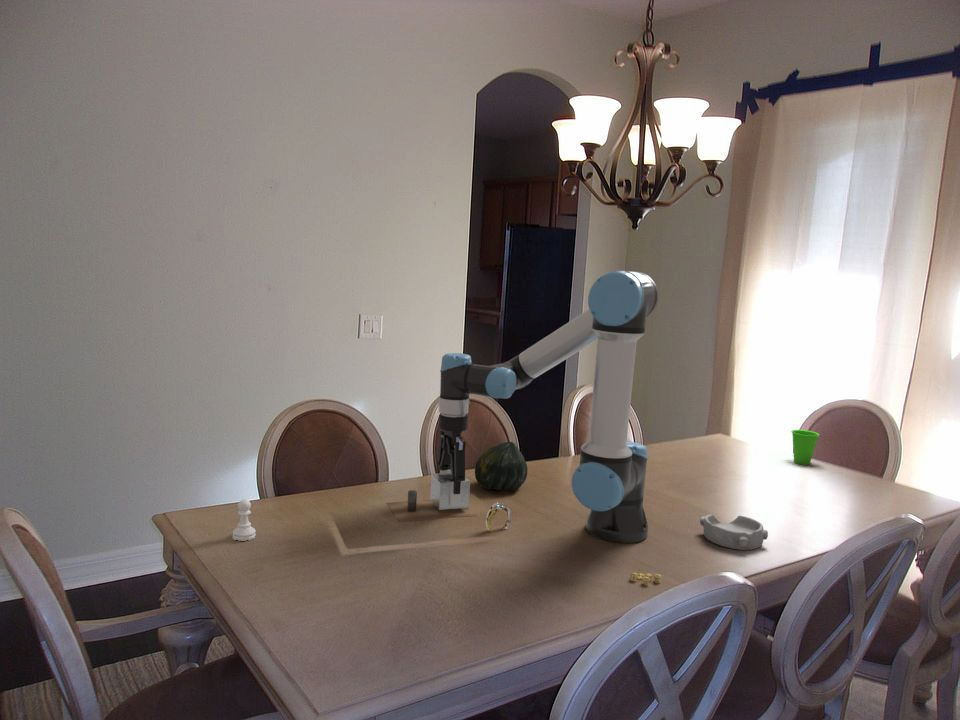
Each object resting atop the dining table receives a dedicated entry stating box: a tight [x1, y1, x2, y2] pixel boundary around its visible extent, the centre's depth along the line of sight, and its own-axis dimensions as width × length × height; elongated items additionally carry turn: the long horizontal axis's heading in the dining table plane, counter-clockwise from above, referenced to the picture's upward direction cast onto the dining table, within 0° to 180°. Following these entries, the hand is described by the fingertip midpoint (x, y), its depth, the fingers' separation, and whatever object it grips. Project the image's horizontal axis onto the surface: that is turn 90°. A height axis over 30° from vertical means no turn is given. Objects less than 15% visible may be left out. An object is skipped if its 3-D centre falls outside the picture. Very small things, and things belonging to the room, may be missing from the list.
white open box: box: [429, 472, 471, 510], centre depth 188 cm, size 8×8×7 cm
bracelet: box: [485, 501, 512, 533], centre depth 175 cm, size 7×3×8 cm, turn 121°
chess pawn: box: [232, 499, 257, 541], centre depth 165 cm, size 5×5×9 cm
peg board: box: [386, 489, 477, 523], centre depth 187 cm, size 14×20×6 cm
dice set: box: [629, 572, 662, 587], centre depth 154 cm, size 5×5×2 cm
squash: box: [474, 441, 529, 492], centre depth 210 cm, size 14×15×15 cm
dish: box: [699, 513, 769, 551], centre depth 179 cm, size 14×14×5 cm
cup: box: [790, 429, 820, 466], centre depth 256 cm, size 9×9×11 cm
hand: (449, 499), depth 189 cm, fingers closed on white open box, 8 cm apart
